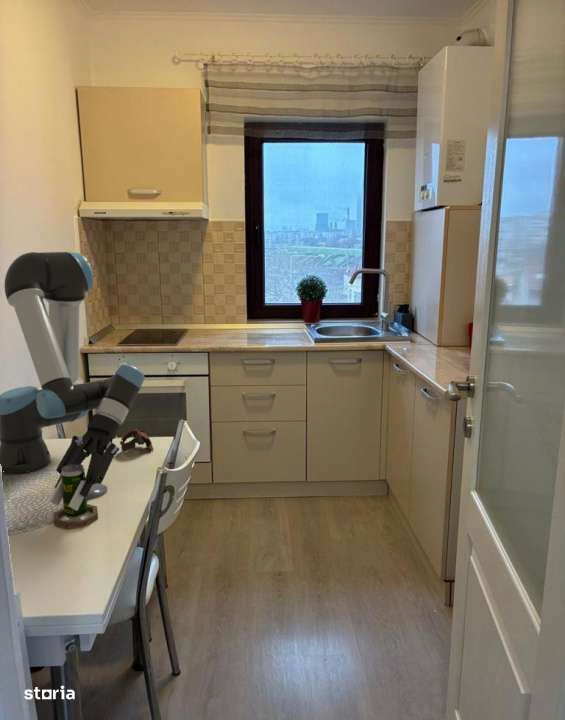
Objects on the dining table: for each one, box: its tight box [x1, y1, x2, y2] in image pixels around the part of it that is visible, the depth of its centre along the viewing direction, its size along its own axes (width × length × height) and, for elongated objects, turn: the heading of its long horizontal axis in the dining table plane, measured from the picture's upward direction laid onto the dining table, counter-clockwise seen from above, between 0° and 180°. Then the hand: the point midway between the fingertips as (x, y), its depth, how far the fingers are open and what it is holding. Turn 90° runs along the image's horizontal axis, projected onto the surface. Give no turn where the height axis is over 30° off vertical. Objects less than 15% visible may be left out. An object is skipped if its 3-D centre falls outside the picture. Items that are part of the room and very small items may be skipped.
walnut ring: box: [53, 503, 99, 531], centre depth 134 cm, size 10×10×2 cm
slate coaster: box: [86, 483, 108, 500], centre depth 149 cm, size 9×9×1 cm
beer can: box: [61, 463, 88, 520], centre depth 132 cm, size 5×5×12 cm
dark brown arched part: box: [119, 428, 154, 453], centre depth 180 cm, size 12×10×8 cm
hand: (63, 505), depth 130 cm, fingers closed on beer can, 5 cm apart
